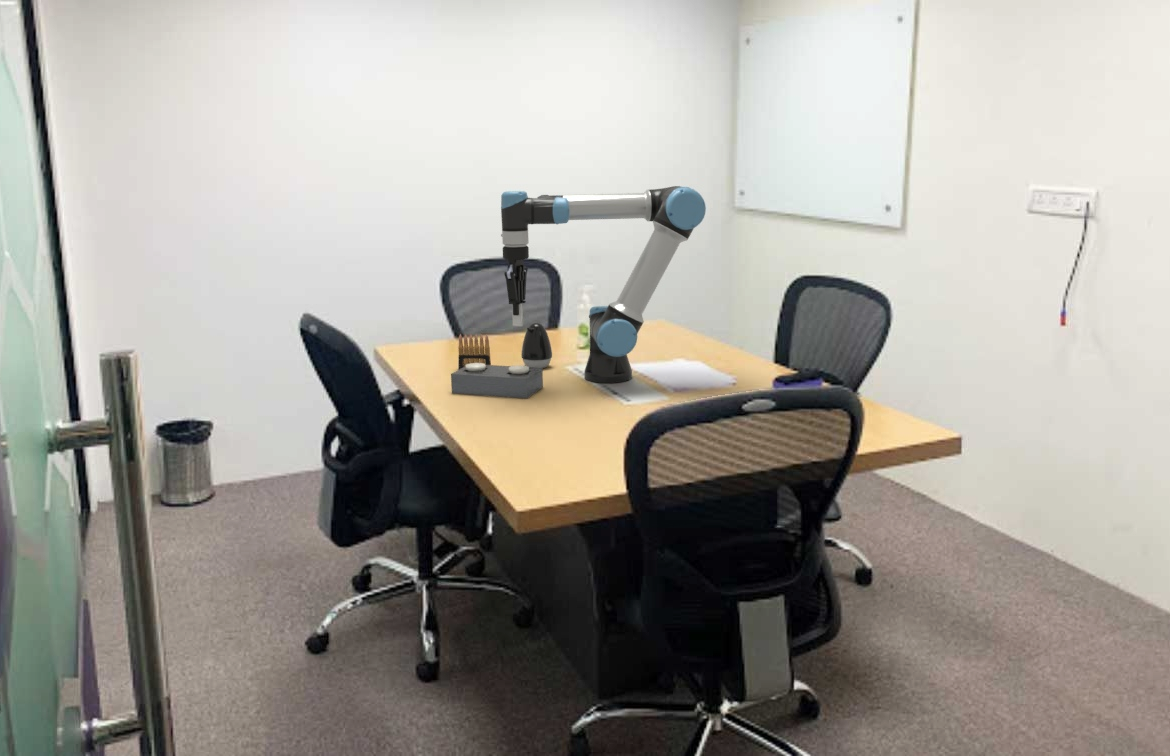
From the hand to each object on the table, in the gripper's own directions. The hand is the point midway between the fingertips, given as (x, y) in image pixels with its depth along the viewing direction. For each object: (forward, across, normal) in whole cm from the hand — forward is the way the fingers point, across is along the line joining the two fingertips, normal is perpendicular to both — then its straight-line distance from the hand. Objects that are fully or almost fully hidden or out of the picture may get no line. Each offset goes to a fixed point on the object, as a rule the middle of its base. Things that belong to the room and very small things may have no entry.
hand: (517, 325), depth 277 cm
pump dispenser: (+21, -32, -6) cm, 38 cm away
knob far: (+20, 0, -14) cm, 24 cm away
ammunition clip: (+20, -24, -25) cm, 40 cm away
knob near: (+20, 0, 0) cm, 20 cm away
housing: (+20, 0, -7) cm, 21 cm away
